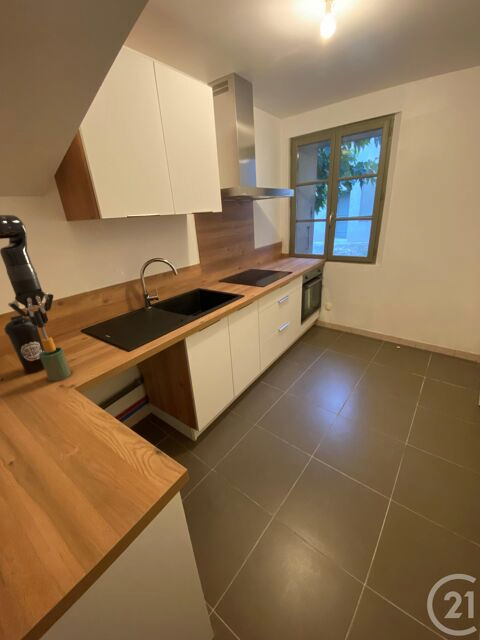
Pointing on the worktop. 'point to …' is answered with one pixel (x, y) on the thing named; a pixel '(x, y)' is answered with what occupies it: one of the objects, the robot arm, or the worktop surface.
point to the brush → (44, 334)
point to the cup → (55, 364)
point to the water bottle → (25, 342)
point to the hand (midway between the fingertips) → (40, 323)
